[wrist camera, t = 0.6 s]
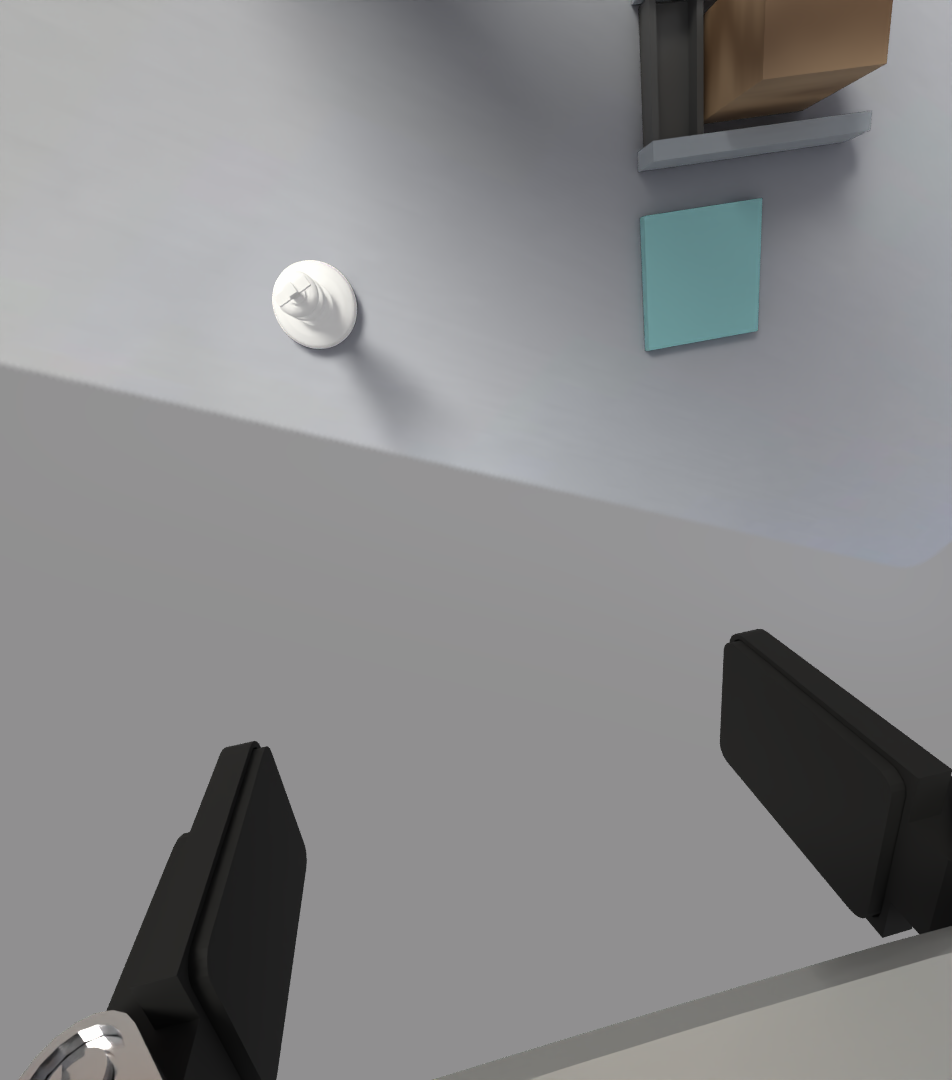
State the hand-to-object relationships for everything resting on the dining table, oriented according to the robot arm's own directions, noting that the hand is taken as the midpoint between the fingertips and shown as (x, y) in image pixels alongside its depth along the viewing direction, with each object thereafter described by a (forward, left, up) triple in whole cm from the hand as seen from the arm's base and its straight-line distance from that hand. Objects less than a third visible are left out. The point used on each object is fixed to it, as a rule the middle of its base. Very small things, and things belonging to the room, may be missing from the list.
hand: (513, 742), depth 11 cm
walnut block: (-20, +24, -28) cm, 42 cm away
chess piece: (-11, -4, -28) cm, 30 cm away
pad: (-9, +21, -28) cm, 36 cm away
